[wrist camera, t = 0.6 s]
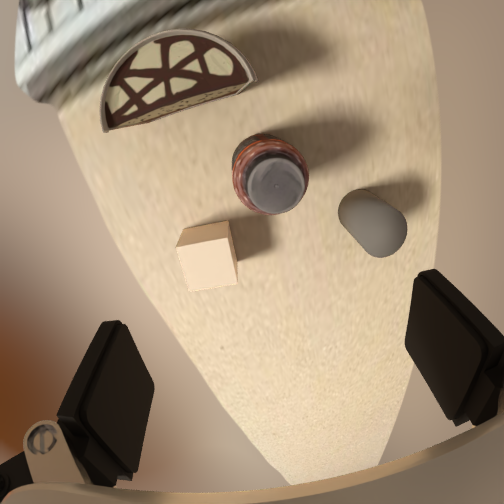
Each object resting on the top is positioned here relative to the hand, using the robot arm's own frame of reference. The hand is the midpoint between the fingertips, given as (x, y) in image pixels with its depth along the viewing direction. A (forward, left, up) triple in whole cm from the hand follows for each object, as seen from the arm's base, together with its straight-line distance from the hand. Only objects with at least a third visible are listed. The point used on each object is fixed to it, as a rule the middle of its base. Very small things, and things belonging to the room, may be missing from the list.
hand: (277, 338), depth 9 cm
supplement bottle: (-1, +2, -25) cm, 25 cm away
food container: (-11, -4, -25) cm, 28 cm away
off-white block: (+7, -5, -25) cm, 26 cm away
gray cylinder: (+6, +12, -25) cm, 28 cm away
